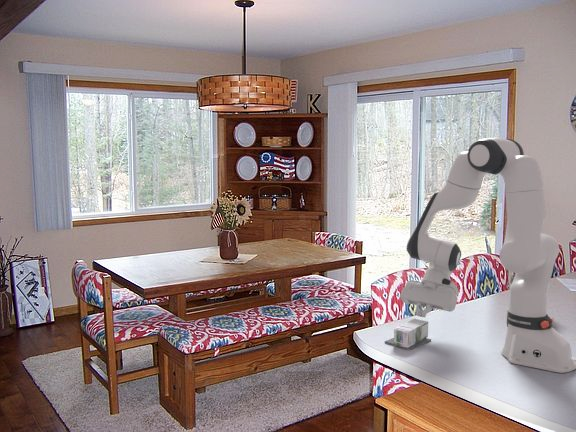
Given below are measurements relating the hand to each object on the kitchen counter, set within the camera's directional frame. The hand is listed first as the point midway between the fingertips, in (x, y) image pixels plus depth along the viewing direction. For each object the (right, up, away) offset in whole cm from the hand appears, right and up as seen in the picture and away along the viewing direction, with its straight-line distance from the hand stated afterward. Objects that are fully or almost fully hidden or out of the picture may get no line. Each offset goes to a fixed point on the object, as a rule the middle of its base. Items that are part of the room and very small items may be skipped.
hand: (420, 315), depth 202 cm
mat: (-5, -8, -3) cm, 10 cm away
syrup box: (+1, -4, +1) cm, 4 cm away
